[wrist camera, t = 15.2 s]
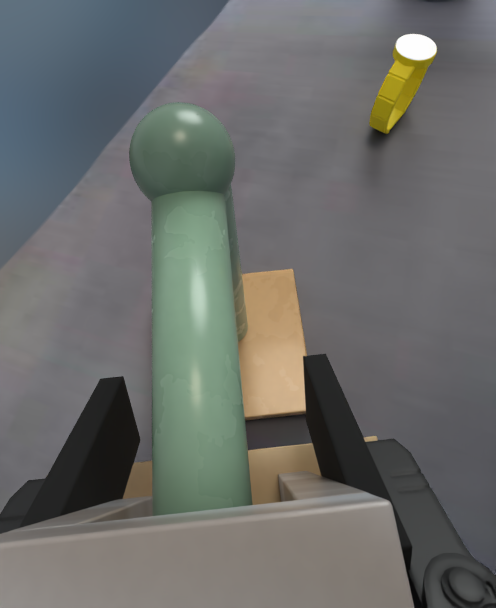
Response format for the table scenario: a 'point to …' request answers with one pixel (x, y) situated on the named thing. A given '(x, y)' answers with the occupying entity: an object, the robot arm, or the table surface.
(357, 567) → the grey arch on wood
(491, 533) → the table surface
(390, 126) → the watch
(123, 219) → the table surface
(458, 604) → the robot arm
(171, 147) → the hanger stand
